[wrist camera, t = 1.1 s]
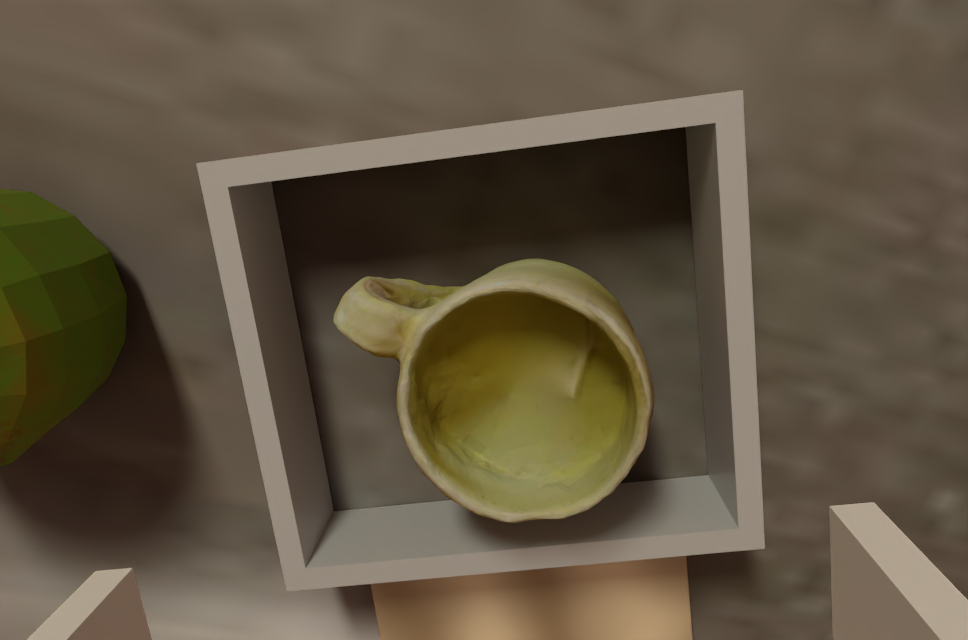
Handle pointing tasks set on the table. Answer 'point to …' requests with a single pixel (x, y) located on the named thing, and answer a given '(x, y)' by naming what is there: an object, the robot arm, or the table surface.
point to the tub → (445, 524)
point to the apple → (52, 318)
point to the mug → (511, 385)
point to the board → (542, 604)
